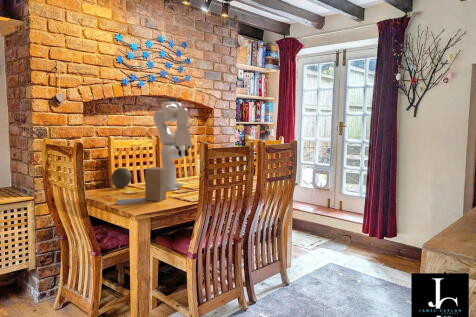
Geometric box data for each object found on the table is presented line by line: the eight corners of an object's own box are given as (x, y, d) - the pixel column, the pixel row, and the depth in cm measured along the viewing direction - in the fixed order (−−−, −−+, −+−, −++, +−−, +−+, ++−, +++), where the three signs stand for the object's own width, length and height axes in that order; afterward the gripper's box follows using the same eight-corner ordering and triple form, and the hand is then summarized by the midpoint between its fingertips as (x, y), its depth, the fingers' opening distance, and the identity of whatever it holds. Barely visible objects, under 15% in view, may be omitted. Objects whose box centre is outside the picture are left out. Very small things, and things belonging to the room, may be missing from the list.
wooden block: (160, 201, 221) (160, 169, 219) (145, 200, 223) (145, 168, 221) (166, 198, 231) (166, 167, 229) (152, 197, 233) (152, 166, 231)
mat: (143, 198, 231) (143, 197, 231) (147, 202, 218) (147, 202, 218) (116, 200, 224) (116, 199, 224) (117, 205, 211) (117, 204, 211)
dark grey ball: (121, 190, 256) (120, 169, 254) (107, 188, 262) (106, 168, 261) (135, 187, 268) (135, 167, 267) (122, 185, 275) (121, 166, 273)
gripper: (193, 127, 235) (193, 155, 237) (168, 127, 229) (169, 156, 231) (196, 128, 228) (196, 156, 230) (171, 128, 222) (171, 157, 224)
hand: (183, 156), depth 231 cm, fingers open, 3 cm apart
